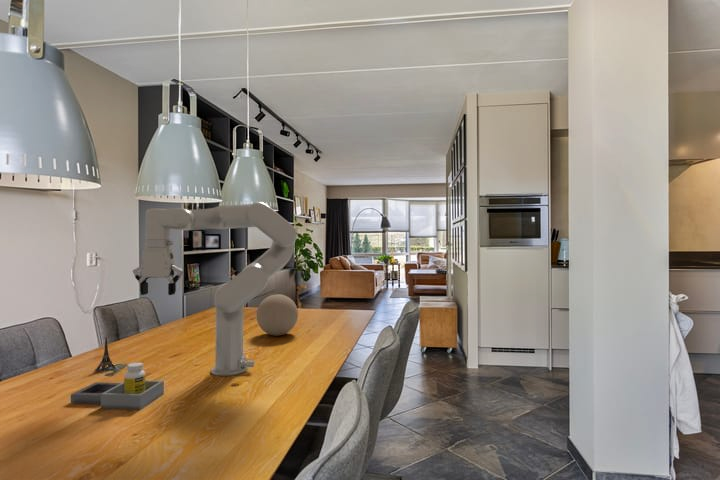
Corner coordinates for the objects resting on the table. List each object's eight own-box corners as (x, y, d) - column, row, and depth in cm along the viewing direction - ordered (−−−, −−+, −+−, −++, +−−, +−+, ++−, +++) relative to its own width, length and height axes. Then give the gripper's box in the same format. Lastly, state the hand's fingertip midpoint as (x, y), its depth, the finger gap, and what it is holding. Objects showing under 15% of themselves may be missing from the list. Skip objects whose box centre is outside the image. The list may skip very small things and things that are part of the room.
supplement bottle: (135, 402, 116) (135, 367, 116) (119, 400, 117) (119, 366, 117) (149, 395, 121) (149, 362, 121) (134, 393, 123) (134, 361, 123)
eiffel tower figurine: (112, 377, 141) (112, 338, 141) (80, 378, 140) (80, 339, 139) (131, 364, 156) (131, 329, 156) (102, 365, 154) (102, 329, 154)
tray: (163, 394, 125) (163, 380, 125) (140, 409, 113) (140, 395, 113) (127, 392, 125) (127, 379, 125) (100, 408, 114) (100, 394, 114)
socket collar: (126, 391, 127) (126, 383, 127) (103, 404, 117) (103, 395, 117) (95, 390, 127) (95, 382, 127) (70, 403, 117) (70, 394, 117)
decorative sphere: (259, 330, 210) (259, 292, 210) (298, 330, 213) (298, 291, 212) (253, 340, 190) (253, 297, 190) (296, 339, 193) (297, 297, 193)
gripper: (187, 244, 143) (187, 293, 143) (140, 244, 144) (140, 292, 144) (176, 244, 136) (176, 296, 136) (126, 244, 137) (126, 295, 137)
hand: (158, 294), depth 140 cm, fingers open, 9 cm apart
